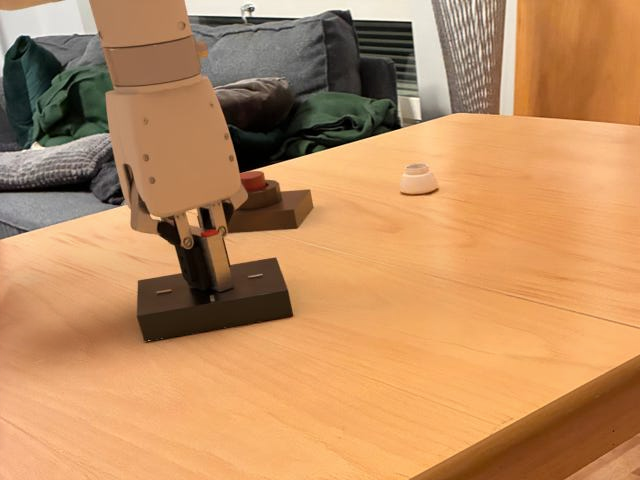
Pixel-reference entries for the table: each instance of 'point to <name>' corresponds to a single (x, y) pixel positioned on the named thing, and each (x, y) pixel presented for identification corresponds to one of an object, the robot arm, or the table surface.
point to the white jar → (418, 179)
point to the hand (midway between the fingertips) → (209, 282)
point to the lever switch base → (212, 301)
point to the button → (253, 180)
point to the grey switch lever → (213, 257)
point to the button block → (271, 209)
